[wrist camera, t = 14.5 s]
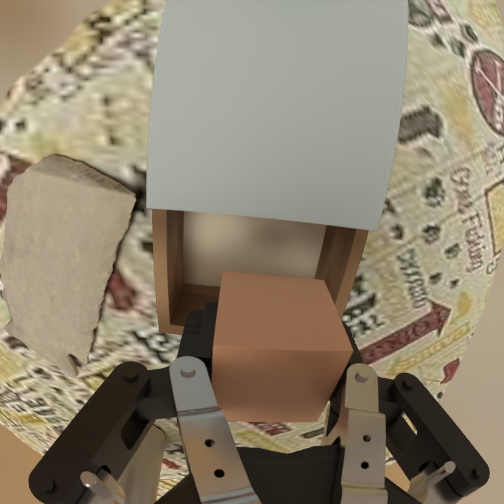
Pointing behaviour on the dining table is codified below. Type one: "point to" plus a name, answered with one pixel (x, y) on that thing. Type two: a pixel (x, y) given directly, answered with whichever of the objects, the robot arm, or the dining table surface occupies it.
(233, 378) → the cube
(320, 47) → the lid
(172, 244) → the brown wooden box
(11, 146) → the dining table surface
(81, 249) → the stone tool
